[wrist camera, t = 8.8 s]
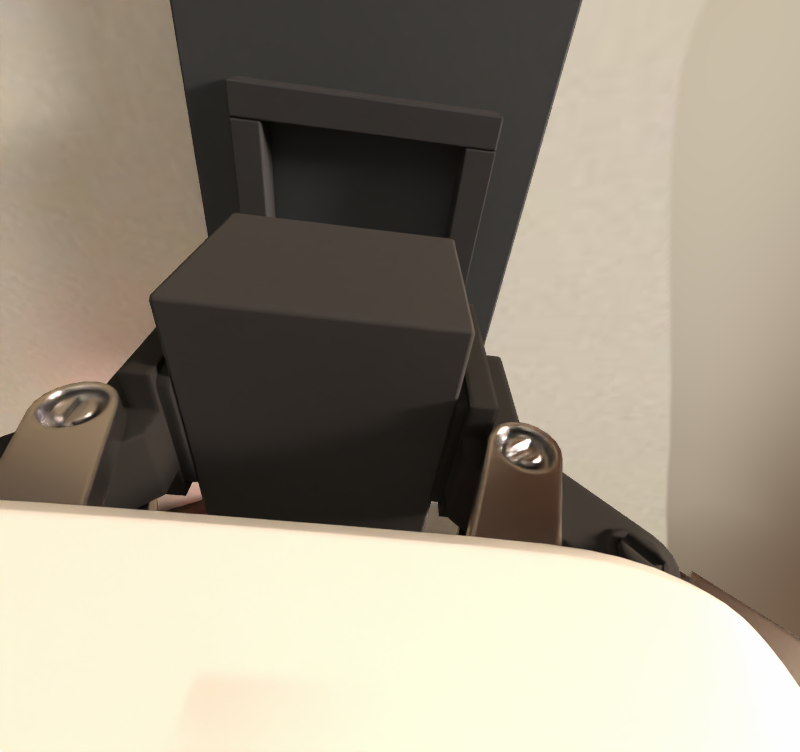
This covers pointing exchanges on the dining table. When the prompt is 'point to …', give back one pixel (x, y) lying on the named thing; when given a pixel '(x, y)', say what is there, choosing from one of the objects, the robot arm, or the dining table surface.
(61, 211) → the dining table surface
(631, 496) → the dining table surface
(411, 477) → the black rectangular block
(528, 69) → the base pad
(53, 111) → the dining table surface
